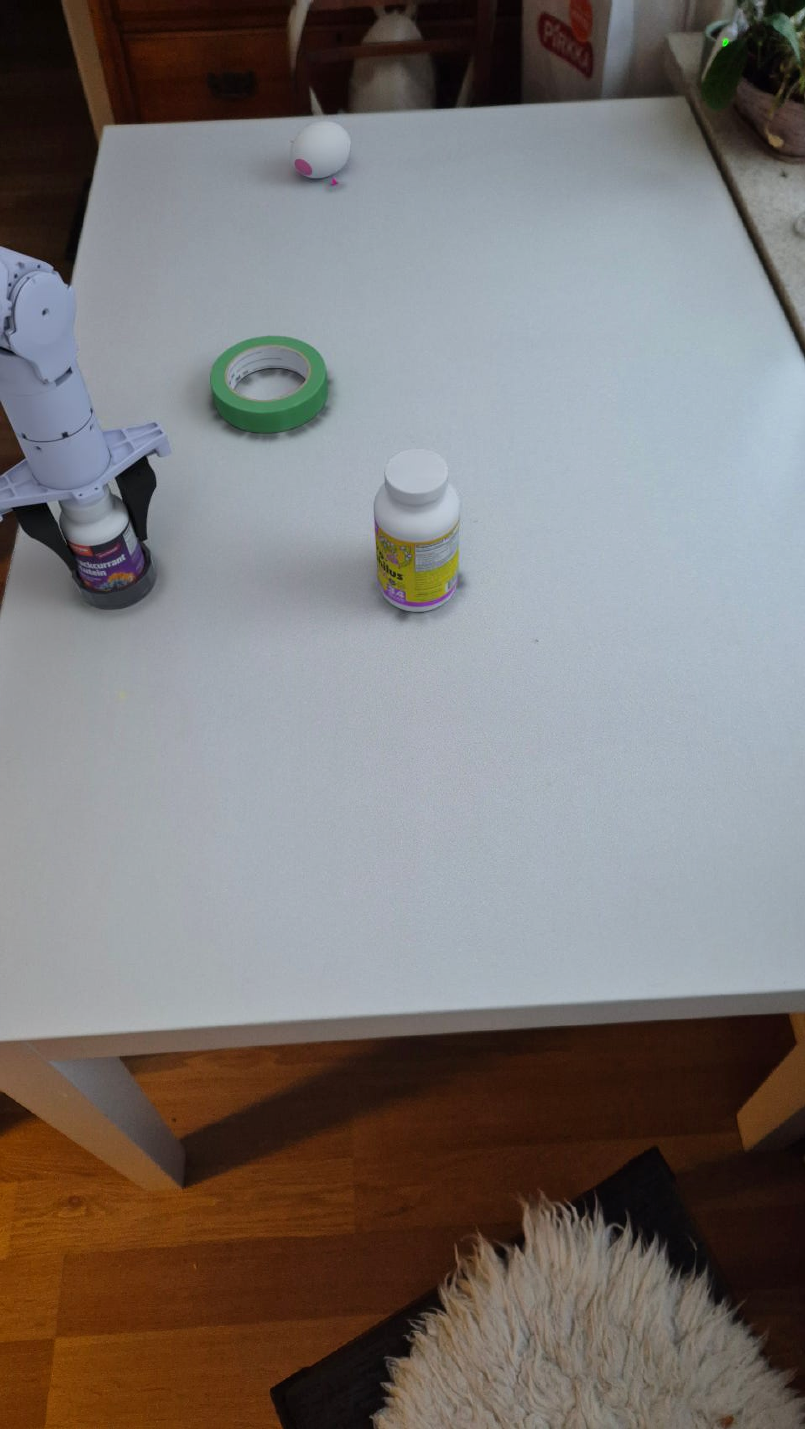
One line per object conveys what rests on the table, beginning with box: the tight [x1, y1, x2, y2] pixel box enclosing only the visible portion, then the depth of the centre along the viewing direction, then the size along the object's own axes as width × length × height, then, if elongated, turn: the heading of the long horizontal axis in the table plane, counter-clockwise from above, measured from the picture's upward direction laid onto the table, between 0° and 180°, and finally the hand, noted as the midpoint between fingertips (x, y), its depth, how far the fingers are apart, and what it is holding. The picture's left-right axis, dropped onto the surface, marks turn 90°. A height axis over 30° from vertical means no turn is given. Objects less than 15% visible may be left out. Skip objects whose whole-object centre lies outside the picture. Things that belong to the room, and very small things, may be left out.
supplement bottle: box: [373, 448, 461, 613], centre depth 79 cm, size 7×7×13 cm
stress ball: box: [289, 120, 352, 186], centre depth 118 cm, size 8×8×7 cm
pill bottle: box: [57, 482, 146, 591], centre depth 81 cm, size 5×5×10 cm
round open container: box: [70, 539, 157, 610], centre depth 85 cm, size 7×7×2 cm
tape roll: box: [209, 335, 329, 434], centre depth 97 cm, size 11×11×3 cm
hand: (105, 547), depth 82 cm, fingers closed on pill bottle, 5 cm apart
